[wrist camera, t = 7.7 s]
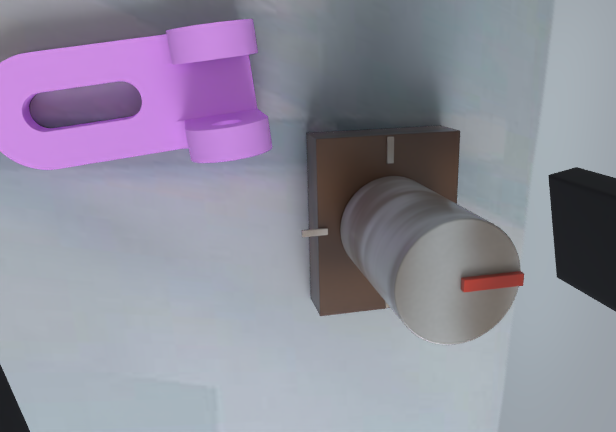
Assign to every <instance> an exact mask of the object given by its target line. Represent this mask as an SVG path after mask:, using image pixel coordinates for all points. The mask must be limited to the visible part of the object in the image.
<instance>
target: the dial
mask: <svg viewBox="0 0 616 432" xmlns="http://www.w3.org/2000/svg"><path fill="white" fill-rule="evenodd" d="M340 232H341V240H342V244H343V247H344V249H345V251H346V253H347V255H348V256H349V257H350V259H351V260H352V261H353V262H354V264H355V265H356V266H357V267H358V268H359V270H360V271H361V272H362V273H363V275H364V276H365V277H366V278H367V279H368V281H369V282H370V283H371V284H372V286H373V287H374V288H375V289H376V290H377V292H378V293H379V294H380V295H381V297H382V298H383V299H384V300H385V301H386V303H387V304H388V305H389V306H390V308H391V309H392V310H393V311H394V312H395V314H396V315H397V316H398V317H399V319H400V320H401V321H402V322H403V323H404V325H405V326H406V327H407V328H408V329H409V330H410V331H411V332H412V333H413V334H415V335H416V336H418V337H419V338H421V339H423V340H425V341H428V342H431V343H435V344H441V345H454V344H460V343H465V342H468V341H471V340H473V339H476V338H478V337H480V336H482V335H483V334H485V333H487V332H488V331H489V330H491V329H492V328H493V327H494V326H495V325H496V324H497V323H499V322H500V320H501V319H502V318H503V317H504V316H505V314H506V313H507V312H508V310H509V309H510V307H511V305H512V303H513V301H514V299H515V297H516V294H517V291H518V287H519V286H523V280H524V274H523V273H522V272H521V271H520V261H519V257H518V253H517V251H516V248H515V246H514V244H513V242H512V241H511V239H510V238H509V237H508V236H507V234H506V233H505V232H504V231H502V230H501V229H500V228H499V227H497V226H496V225H494V224H492V223H491V222H489V221H487V220H485V219H483V218H481V217H480V216H478V215H476V214H474V213H472V212H470V211H469V210H467V209H465V208H463V207H461V206H459V205H458V204H456V203H454V202H452V201H450V200H448V199H447V198H445V197H443V196H441V195H439V194H437V193H436V192H434V191H432V190H430V189H428V188H426V187H425V186H423V185H421V184H419V183H417V182H415V181H413V180H411V179H409V178H405V177H400V176H388V177H382V178H379V179H376V180H374V181H371V182H369V183H368V184H366V185H364V186H363V187H362V188H360V189H359V190H358V191H357V192H356V193H355V194H354V195H353V197H352V198H351V199H350V201H349V202H348V204H347V206H346V208H345V210H344V213H343V216H342V220H341V228H340Z"/></svg>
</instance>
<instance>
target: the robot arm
mask: <svg viewBox="0 0 616 432" xmlns="http://www.w3.org/2000/svg"><path fill="white" fill-rule="evenodd" d="M549 187H550V197H551V198H550V199H551V211H552V223H553V235H554V247H555V258H556V271H557V277H558V278H559V279H561V280H563V281H564V282H566V283H568V284H570V285H571V286H573V287H575V288H576V289H578V290H580V291H582V292H584V293H585V294H587V295H588V296H590V297H592V298H594V299H595V300H597V301H599V302H601V303H602V304H604V305H606V306H607V307H609V308H611V309H612V310H614V311H616V178H613V177H610V176H606V175H602V174H599V173H595V172H592V171H588V170H584V169H581V168H572V169H569V170H565V171H562V172H558V173H554V174H551V175H549ZM0 432H30V430H29V428H28V426H27V424H26V421H25V419H24V417H23V415H22V412H21V410H20V408H19V406H18V403H17V401H16V399H15V396H14V394H13V392H12V390H11V387H10V385H9V383H8V381H7V378H6V376H5V374H4V372H3V369H2V367H1V365H0Z"/></svg>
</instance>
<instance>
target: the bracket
mask: <svg viewBox="0 0 616 432" xmlns="http://www.w3.org/2000/svg"><path fill="white" fill-rule="evenodd" d="M255 53H258V49H257V43H256V36H255V29H254V23H253V19H242V20H232V21H223V22H215V23H207V24H200V25H193V26H187V27H181V28H175V29H170V30H166V34H163V35H156V36H149V37H141V38H134V39H126V40H118V41H111V42H103V43H96V44H88V45H80V46H73V47H65V48H58V49H50V50H42V51H35V52H27V53H22V54H18V55H15V56H12V57H10V58H8V59H6V60H4V61H2V62H1V63H0V151H1V152H2V153H3V154H4V155H5V156H7V157H8V158H10V159H11V160H13V161H15V162H17V163H19V164H21V165H24V166H27V167H30V168H35V169H42V170H53V169H61V168H67V167H73V166H79V165H85V164H91V163H97V162H103V161H109V160H115V159H122V158H128V157H134V156H140V155H146V154H152V153H158V152H164V151H170V150H176V149H183V148H189V151H190V157H191V161H193V162H197V163H215V162H225V161H232V160H238V159H243V158H248V157H252V156H256V155H259V154H262V153H265V152H267V151H269V150H271V149H272V141H271V135H270V128H269V122H268V116H267V115H265V114H264V113H262V112H261V111H260V110H258V109H257V104H256V97H255V91H254V84H253V78H252V72H251V65H250V59H249V54H255ZM118 81H124V82H128V83H130V84H132V85H133V86H135V87H136V88H137V90H138V91H139V93H140V95H141V98H142V106H141V109H140V111H139V112H138V113H137V114H135V115H133V116H130V117H124V118H118V119H111V120H105V121H98V122H91V123H85V124H78V125H72V126H65V127H59V128H45V127H42V126H40V125H39V124H37V123H36V122H35V121H34V120H33V118H32V117H31V114H30V110H29V105H30V102H31V100H32V98H33V97H34V96H35V95H36V94H38V93H41V92H48V91H55V90H62V89H69V88H76V87H83V86H90V85H97V84H104V83H111V82H118Z"/></svg>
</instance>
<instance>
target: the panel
mask: <svg viewBox="0 0 616 432" xmlns="http://www.w3.org/2000/svg"><path fill="white" fill-rule="evenodd" d="M306 138H307V175H308V211H309V230H302V237H309V248H310V284H311V299H312V301H313V303H314V305H315V307H316V309H317V311H318V313H319V315H320V316H326V315H334V314H343V313H351V312H360V311H368V310H377V309H385V308H390V306H389V305H388V304H387V303H386V301H385V300H384V299H383V298H382V297H381V295H380V294H379V293H378V292H377V290H376V289H375V288H374V287H373V286H372V284H371V283H370V282H369V281H368V279H367V278H366V277H365V276H364V275H363V273H362V272H361V271H360V270H359V268H358V267H357V266H356V265H355V264H354V262H353V261H352V260H351V259H350V257H349V256H348V255H347V253H346V251H345V249H344V247H343V244H342V240H341V232H340V228H341V220H342V216H343V213H344V210H345V208H346V206H347V204H348V202H349V201H350V199H351V198H352V197H353V195H354V194H355V193H356V192H357V191H358V190H359V189H360V188H362V187H363V186H364V185H366V184H368V183H369V182H371V181H374V180H376V179H379V178H382V177H388V176H400V177H405V178H409V179H411V180H413V181H415V182H417V183H419V184H421V185H423V186H425V187H426V188H428V189H430V190H432V191H434V192H436V193H437V194H439V195H441V196H443V197H445V198H447V199H448V200H450V201H452V202H454V203H456V204H457V186H458V165H459V143H460V131H459V130H455V129H451V128H448V127H444V126H441V125H440V126H422V127H404V128H385V129H367V130H349V131H331V132H313V133H306Z"/></svg>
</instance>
